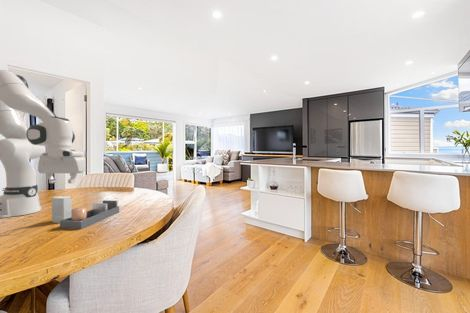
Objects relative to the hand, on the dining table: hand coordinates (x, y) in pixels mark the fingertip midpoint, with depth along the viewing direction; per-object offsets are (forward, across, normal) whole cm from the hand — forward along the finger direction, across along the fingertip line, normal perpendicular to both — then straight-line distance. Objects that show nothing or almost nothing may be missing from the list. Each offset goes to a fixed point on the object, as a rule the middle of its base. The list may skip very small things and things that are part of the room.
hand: (61, 183), depth 94 cm
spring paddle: (+17, +12, +8) cm, 22 cm away
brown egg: (+18, +12, -4) cm, 21 cm away
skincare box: (+18, 0, 0) cm, 19 cm away
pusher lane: (+18, +12, +4) cm, 22 cm away
